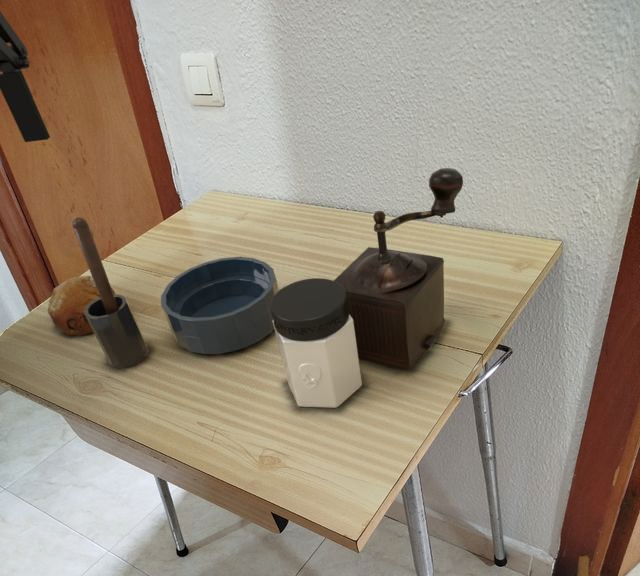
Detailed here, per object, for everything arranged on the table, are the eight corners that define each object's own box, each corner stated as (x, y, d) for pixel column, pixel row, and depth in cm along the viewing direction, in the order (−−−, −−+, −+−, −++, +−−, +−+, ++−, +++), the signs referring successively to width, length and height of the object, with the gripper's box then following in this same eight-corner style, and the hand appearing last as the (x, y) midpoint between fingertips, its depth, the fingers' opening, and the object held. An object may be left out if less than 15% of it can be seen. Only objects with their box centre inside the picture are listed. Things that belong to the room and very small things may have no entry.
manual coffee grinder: (414, 374, 68) (406, 228, 56) (334, 353, 74) (310, 215, 61) (467, 303, 77) (471, 163, 64) (392, 288, 82) (382, 156, 70)
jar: (279, 408, 68) (256, 321, 59) (296, 363, 73) (276, 278, 65) (356, 410, 65) (342, 321, 57) (367, 364, 71) (356, 276, 63)
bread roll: (122, 315, 95) (97, 268, 92) (132, 315, 86) (104, 262, 83) (64, 342, 92) (36, 294, 89) (67, 344, 83) (36, 291, 80)
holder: (103, 369, 79) (77, 319, 73) (117, 344, 83) (94, 295, 77) (140, 367, 78) (117, 317, 72) (153, 342, 82) (132, 292, 76)
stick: (120, 355, 79) (67, 222, 64) (124, 347, 80) (73, 214, 65) (132, 356, 79) (82, 222, 64) (135, 348, 80) (87, 214, 65)
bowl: (161, 361, 78) (145, 324, 74) (192, 297, 89) (179, 261, 85) (273, 355, 75) (263, 316, 71) (291, 290, 86) (283, 252, 82)
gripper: (-209, -113, 36) (-22, 216, 51) (-9, -131, 54) (88, 118, 68) (-306, -91, 38) (-96, 223, 52) (-80, -116, 55) (30, 125, 70)
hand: (8, 164), depth 60 cm, fingers open, 13 cm apart
